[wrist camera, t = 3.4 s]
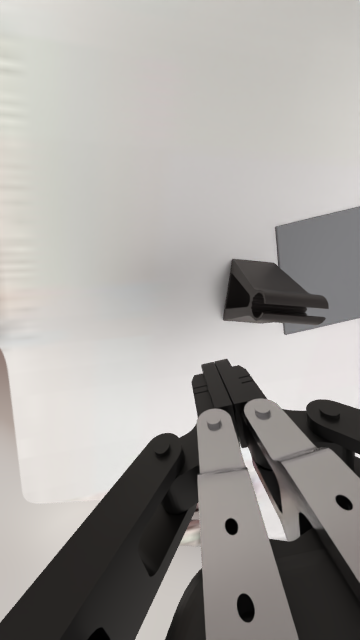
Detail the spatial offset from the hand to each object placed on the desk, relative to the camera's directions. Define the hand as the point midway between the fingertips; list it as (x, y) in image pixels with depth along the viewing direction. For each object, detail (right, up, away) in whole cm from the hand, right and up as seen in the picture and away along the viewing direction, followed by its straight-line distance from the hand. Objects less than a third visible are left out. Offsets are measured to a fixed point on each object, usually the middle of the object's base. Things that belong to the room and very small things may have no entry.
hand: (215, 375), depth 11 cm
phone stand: (+8, +7, +18) cm, 21 cm away
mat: (+20, +10, +18) cm, 28 cm away
